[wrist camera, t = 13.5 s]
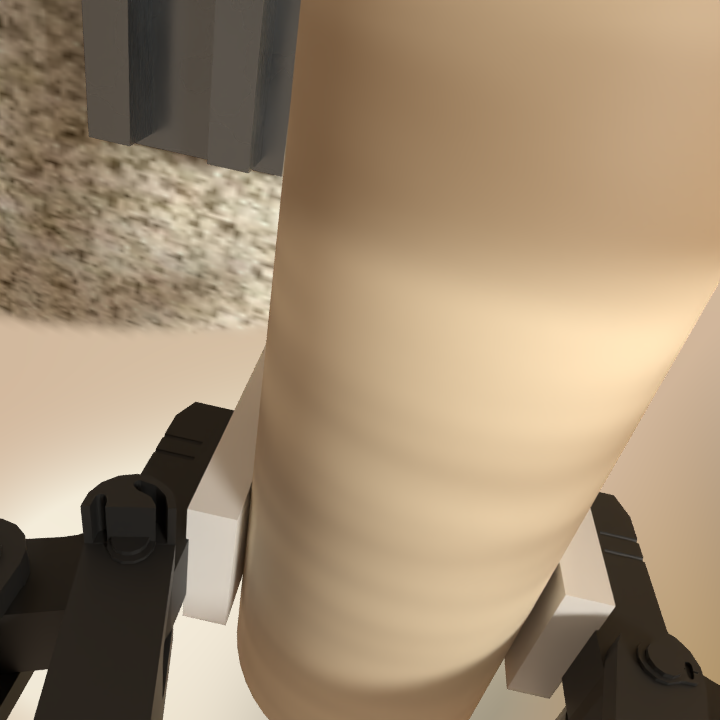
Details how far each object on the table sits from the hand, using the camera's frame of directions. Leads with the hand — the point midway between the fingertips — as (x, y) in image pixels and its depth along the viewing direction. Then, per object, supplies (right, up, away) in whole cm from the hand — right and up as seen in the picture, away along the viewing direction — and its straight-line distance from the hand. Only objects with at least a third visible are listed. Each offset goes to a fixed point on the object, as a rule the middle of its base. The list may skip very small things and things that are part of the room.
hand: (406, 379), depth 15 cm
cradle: (-7, +14, +8) cm, 17 cm away
